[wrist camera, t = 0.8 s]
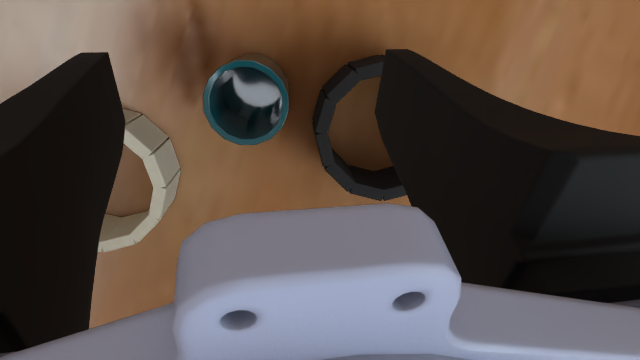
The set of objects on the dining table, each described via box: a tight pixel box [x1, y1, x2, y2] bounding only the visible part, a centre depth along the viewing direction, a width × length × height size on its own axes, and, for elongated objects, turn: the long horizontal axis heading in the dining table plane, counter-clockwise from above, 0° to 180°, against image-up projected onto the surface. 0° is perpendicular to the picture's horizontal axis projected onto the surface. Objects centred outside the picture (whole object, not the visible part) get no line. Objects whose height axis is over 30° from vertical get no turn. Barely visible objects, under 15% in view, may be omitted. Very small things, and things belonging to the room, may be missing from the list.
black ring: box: [312, 55, 407, 201], centre depth 30 cm, size 9×9×4 cm
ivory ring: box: [98, 108, 181, 252], centre depth 30 cm, size 9×9×4 cm
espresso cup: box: [203, 54, 289, 145], centre depth 28 cm, size 5×5×6 cm
